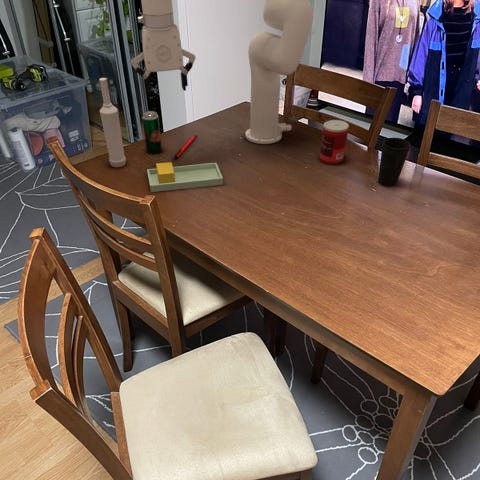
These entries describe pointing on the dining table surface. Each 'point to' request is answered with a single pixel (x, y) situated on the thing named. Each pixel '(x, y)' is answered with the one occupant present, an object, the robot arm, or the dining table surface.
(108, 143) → the bottle
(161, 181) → the sponge
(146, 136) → the soda can
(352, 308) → the dining table surface
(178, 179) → the tray
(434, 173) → the dining table surface
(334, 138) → the canned food
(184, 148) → the pen
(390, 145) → the cup
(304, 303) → the dining table surface
